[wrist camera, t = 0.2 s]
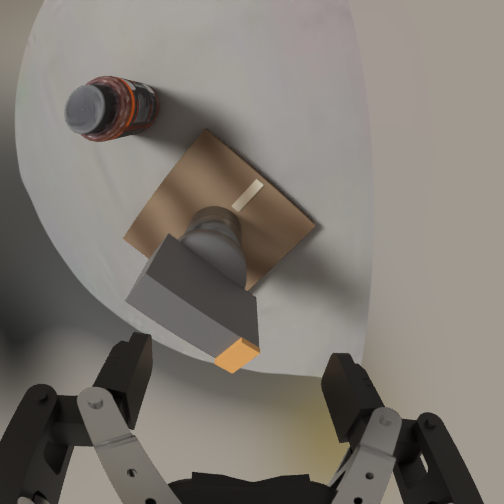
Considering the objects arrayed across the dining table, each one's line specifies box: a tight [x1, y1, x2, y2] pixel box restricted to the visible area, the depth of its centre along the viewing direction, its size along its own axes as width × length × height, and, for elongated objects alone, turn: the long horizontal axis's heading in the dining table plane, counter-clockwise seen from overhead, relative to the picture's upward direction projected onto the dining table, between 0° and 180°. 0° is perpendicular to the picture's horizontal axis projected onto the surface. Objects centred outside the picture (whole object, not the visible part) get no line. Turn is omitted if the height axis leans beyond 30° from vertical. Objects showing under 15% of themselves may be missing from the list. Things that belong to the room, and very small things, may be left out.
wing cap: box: [125, 229, 260, 373], centre depth 21 cm, size 9×7×8 cm
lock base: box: [123, 129, 315, 291], centre depth 29 cm, size 16×16×9 cm
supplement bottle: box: [64, 76, 159, 142], centre depth 22 cm, size 6×6×11 cm
